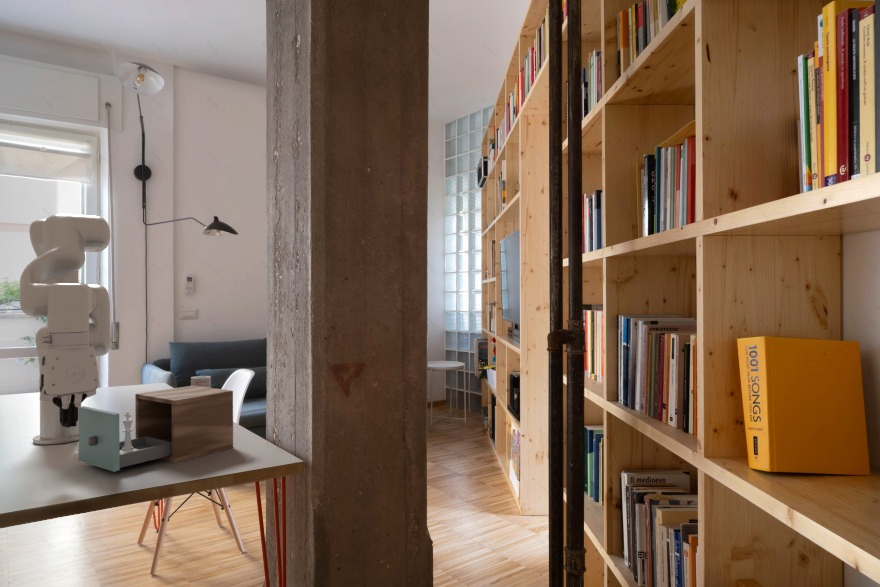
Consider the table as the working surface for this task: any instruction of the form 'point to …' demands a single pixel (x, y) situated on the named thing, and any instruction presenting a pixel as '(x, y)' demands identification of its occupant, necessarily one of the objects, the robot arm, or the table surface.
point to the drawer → (113, 442)
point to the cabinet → (187, 419)
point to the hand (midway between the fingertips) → (68, 425)
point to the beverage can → (201, 381)
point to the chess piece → (127, 435)
